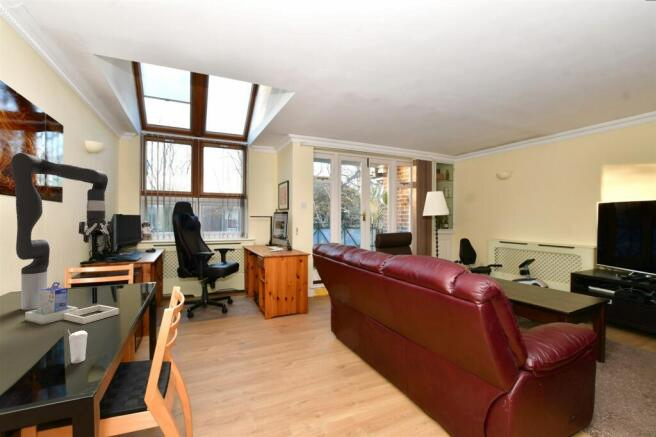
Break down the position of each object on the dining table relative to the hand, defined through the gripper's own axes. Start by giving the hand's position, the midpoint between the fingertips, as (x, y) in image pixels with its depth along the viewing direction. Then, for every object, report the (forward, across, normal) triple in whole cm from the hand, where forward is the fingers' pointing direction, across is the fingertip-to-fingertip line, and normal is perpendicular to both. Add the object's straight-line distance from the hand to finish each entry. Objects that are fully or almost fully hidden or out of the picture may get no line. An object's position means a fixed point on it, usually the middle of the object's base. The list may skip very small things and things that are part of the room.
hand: (96, 242), depth 153 cm
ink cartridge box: (+32, +19, +2) cm, 37 cm away
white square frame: (+32, +11, +16) cm, 38 cm away
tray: (+32, +19, +2) cm, 37 cm away
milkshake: (+32, +39, +58) cm, 77 cm away
